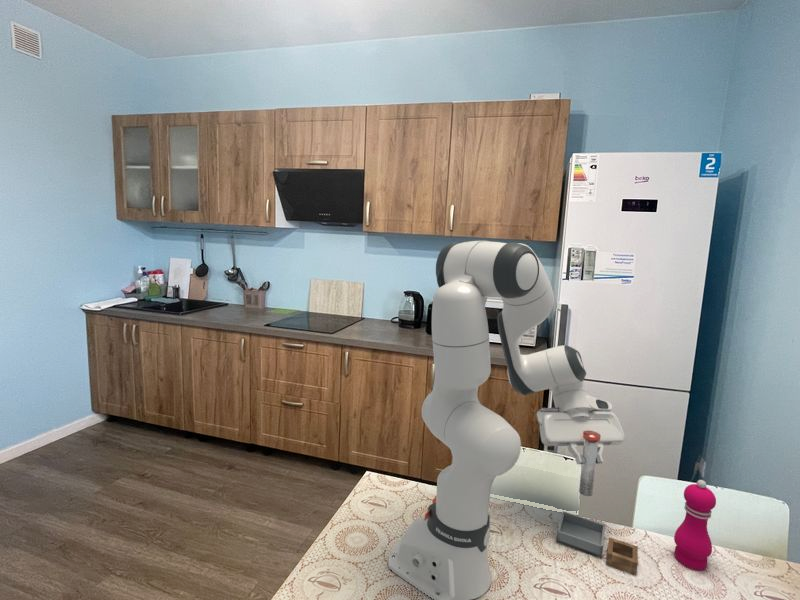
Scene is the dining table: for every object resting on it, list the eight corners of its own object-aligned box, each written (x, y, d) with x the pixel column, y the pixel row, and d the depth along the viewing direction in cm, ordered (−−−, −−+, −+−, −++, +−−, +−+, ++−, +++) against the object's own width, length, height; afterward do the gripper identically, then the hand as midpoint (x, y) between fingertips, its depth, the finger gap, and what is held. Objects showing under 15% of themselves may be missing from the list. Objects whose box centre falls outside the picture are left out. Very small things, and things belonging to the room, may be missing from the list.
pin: (576, 494, 102) (582, 435, 100) (578, 486, 105) (583, 429, 103) (593, 499, 100) (600, 439, 98) (594, 491, 103) (601, 432, 101)
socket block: (606, 564, 96) (607, 552, 96) (607, 548, 101) (608, 537, 101) (636, 575, 93) (637, 563, 93) (636, 558, 99) (637, 546, 98)
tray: (556, 542, 103) (557, 531, 102) (561, 521, 111) (562, 511, 110) (601, 558, 98) (603, 547, 98) (604, 535, 106) (605, 524, 105)
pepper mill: (715, 575, 94) (729, 492, 91) (679, 569, 96) (691, 487, 93) (699, 552, 101) (711, 474, 98) (666, 546, 103) (677, 469, 100)
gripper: (539, 403, 105) (553, 460, 97) (617, 402, 107) (637, 459, 99) (530, 412, 111) (543, 467, 102) (605, 412, 112) (623, 466, 104)
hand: (590, 463), depth 101 cm, fingers closed on pin, 3 cm apart
